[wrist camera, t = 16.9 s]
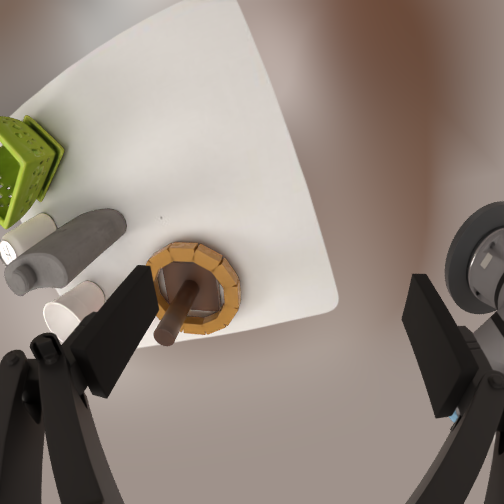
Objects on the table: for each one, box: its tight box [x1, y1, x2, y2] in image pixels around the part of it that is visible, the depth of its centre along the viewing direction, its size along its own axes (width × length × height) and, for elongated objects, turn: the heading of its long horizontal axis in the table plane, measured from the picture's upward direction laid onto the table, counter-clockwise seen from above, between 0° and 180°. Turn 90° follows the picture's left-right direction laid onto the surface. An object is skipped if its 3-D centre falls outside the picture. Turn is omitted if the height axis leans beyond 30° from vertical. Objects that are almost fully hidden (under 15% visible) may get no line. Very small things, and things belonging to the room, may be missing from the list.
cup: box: [43, 281, 105, 343], centre depth 54 cm, size 10×10×11 cm
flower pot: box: [0, 115, 64, 229], centre depth 42 cm, size 14×14×13 cm
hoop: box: [146, 242, 241, 335], centre depth 52 cm, size 16×16×2 cm
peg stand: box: [154, 261, 221, 346], centre depth 48 cm, size 9×9×14 cm
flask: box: [4, 209, 126, 296], centre depth 43 cm, size 15×6×20 cm, turn 105°
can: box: [0, 213, 57, 266], centre depth 48 cm, size 6×6×12 cm
